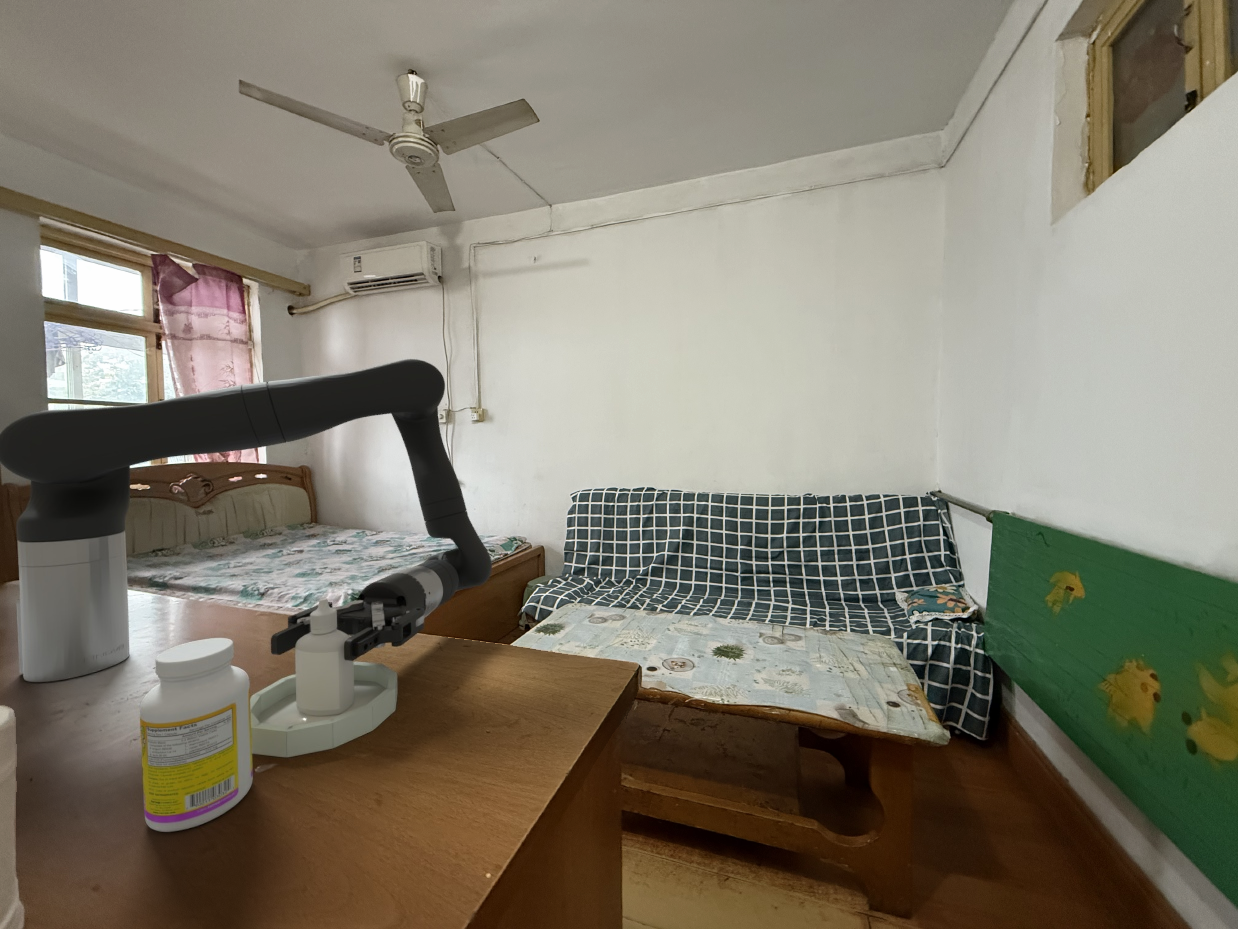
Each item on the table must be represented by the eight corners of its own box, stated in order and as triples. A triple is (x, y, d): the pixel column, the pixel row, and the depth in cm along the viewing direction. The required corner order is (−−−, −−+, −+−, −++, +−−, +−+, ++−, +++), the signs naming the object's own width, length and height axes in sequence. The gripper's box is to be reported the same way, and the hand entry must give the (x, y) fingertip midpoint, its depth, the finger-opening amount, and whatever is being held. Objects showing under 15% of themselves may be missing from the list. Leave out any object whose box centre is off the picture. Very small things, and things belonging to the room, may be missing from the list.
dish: (205, 748, 46) (204, 722, 46) (317, 678, 60) (316, 658, 60) (336, 763, 44) (336, 736, 44) (421, 687, 58) (420, 666, 58)
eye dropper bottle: (314, 726, 49) (312, 610, 48) (292, 708, 52) (289, 599, 51) (359, 707, 52) (357, 599, 51) (335, 691, 55) (333, 589, 55)
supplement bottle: (191, 777, 42) (186, 633, 41) (271, 773, 42) (267, 631, 42) (117, 840, 35) (111, 669, 35) (213, 834, 36) (208, 666, 35)
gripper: (355, 570, 67) (248, 609, 50) (451, 574, 64) (372, 617, 48) (356, 623, 67) (250, 679, 51) (451, 629, 65) (373, 690, 49)
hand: (310, 649), depth 50 cm, fingers open, 8 cm apart
